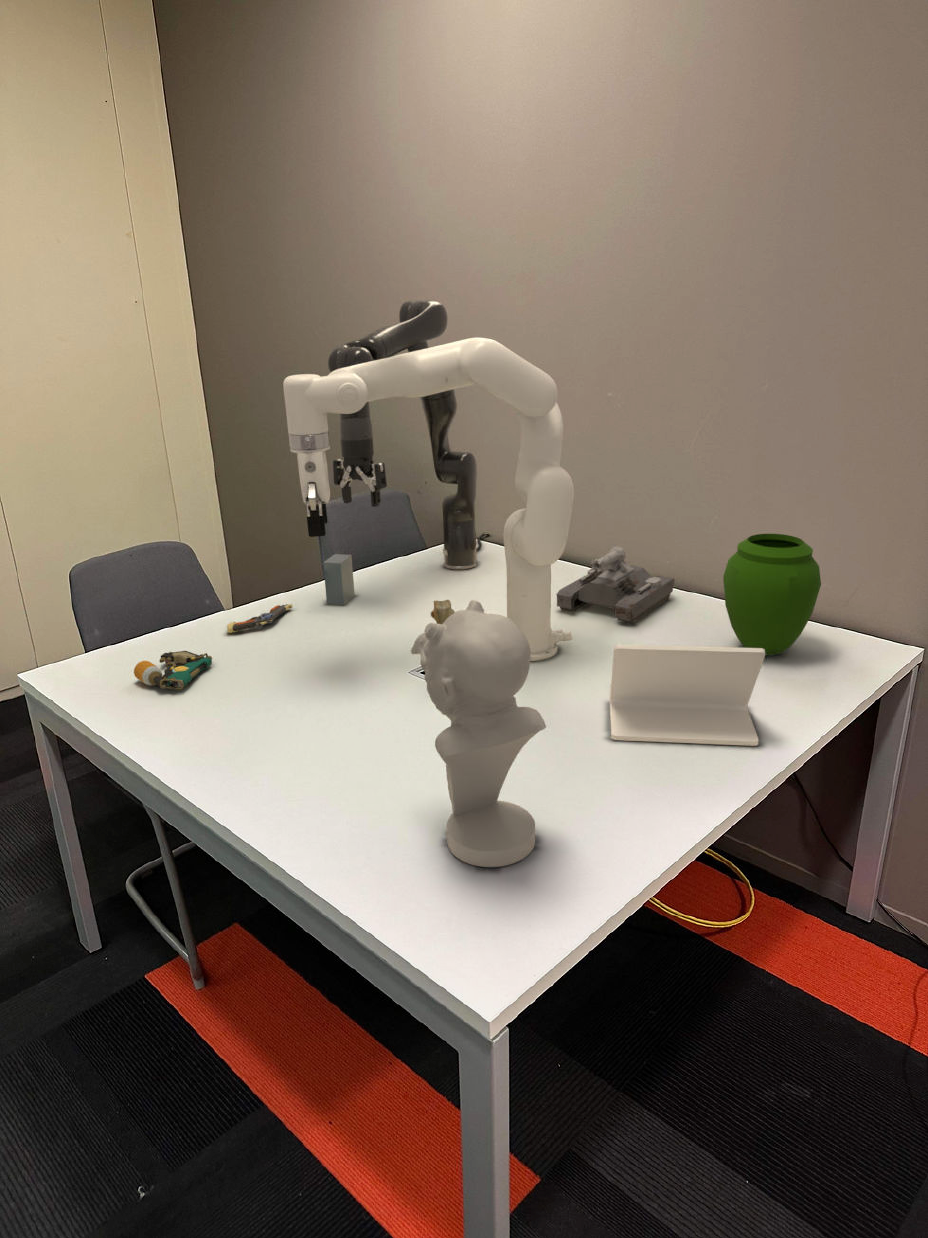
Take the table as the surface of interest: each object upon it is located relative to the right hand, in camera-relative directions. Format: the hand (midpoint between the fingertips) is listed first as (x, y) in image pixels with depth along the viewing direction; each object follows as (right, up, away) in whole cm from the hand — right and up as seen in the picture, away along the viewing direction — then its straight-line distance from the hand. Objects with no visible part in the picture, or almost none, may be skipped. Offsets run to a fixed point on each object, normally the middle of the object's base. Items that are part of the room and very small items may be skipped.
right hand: (318, 529), depth 168 cm
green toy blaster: (-32, -30, +13) cm, 46 cm away
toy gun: (-21, -18, +42) cm, 51 cm away
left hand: (+4, +10, +37) cm, 38 cm away
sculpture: (+25, -29, +11) cm, 40 cm away
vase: (+94, -24, +17) cm, 98 cm away
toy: (+67, -14, +46) cm, 83 cm away
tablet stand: (+68, -36, -12) cm, 78 cm away
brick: (-4, -13, +56) cm, 57 cm away
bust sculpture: (+30, -49, -43) cm, 71 cm away
